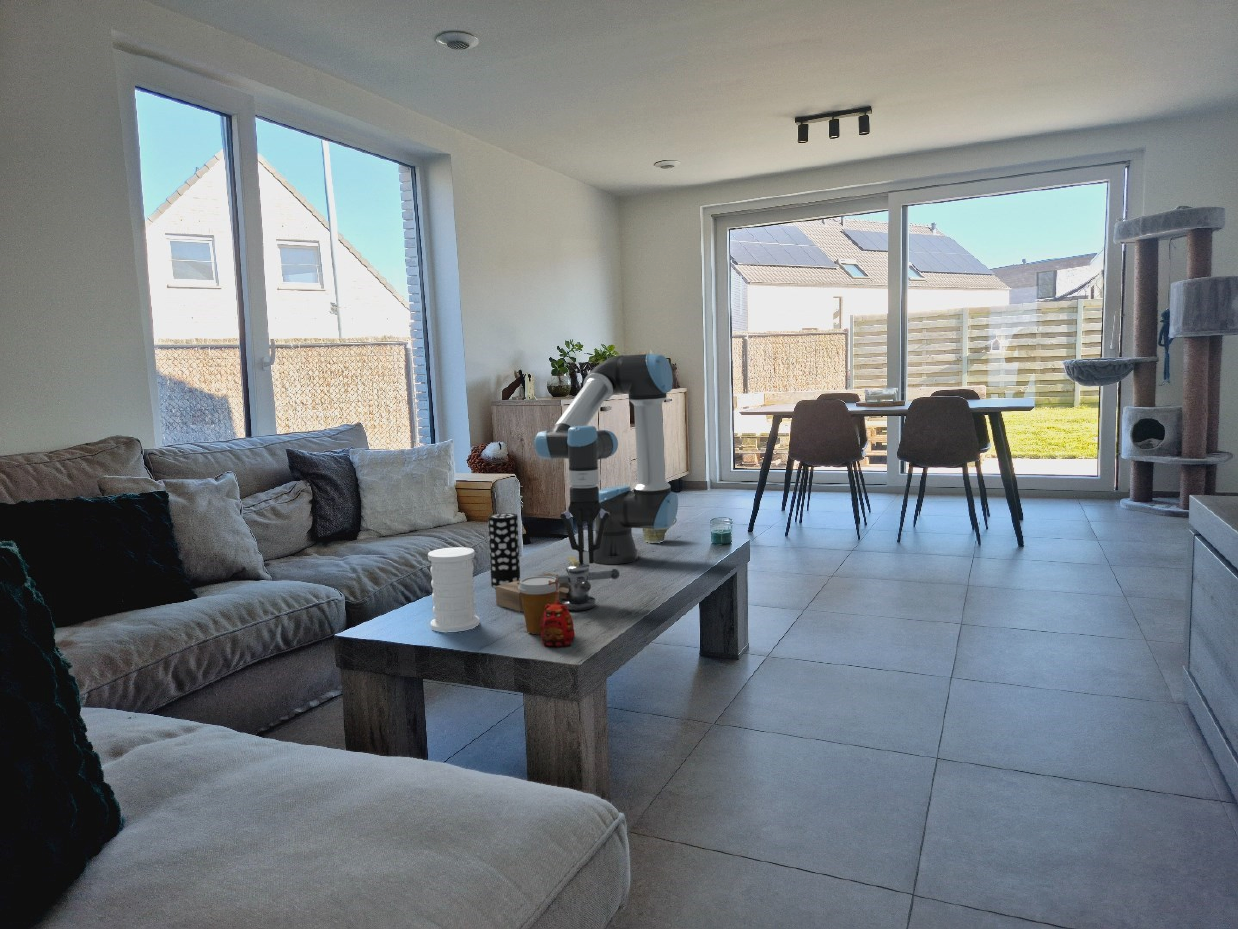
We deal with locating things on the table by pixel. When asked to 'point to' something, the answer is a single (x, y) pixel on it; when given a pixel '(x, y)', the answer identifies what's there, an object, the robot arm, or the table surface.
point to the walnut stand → (511, 595)
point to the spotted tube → (504, 548)
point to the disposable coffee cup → (536, 599)
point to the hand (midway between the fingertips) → (587, 575)
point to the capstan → (581, 584)
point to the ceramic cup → (655, 534)
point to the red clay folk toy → (557, 623)
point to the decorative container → (453, 589)
